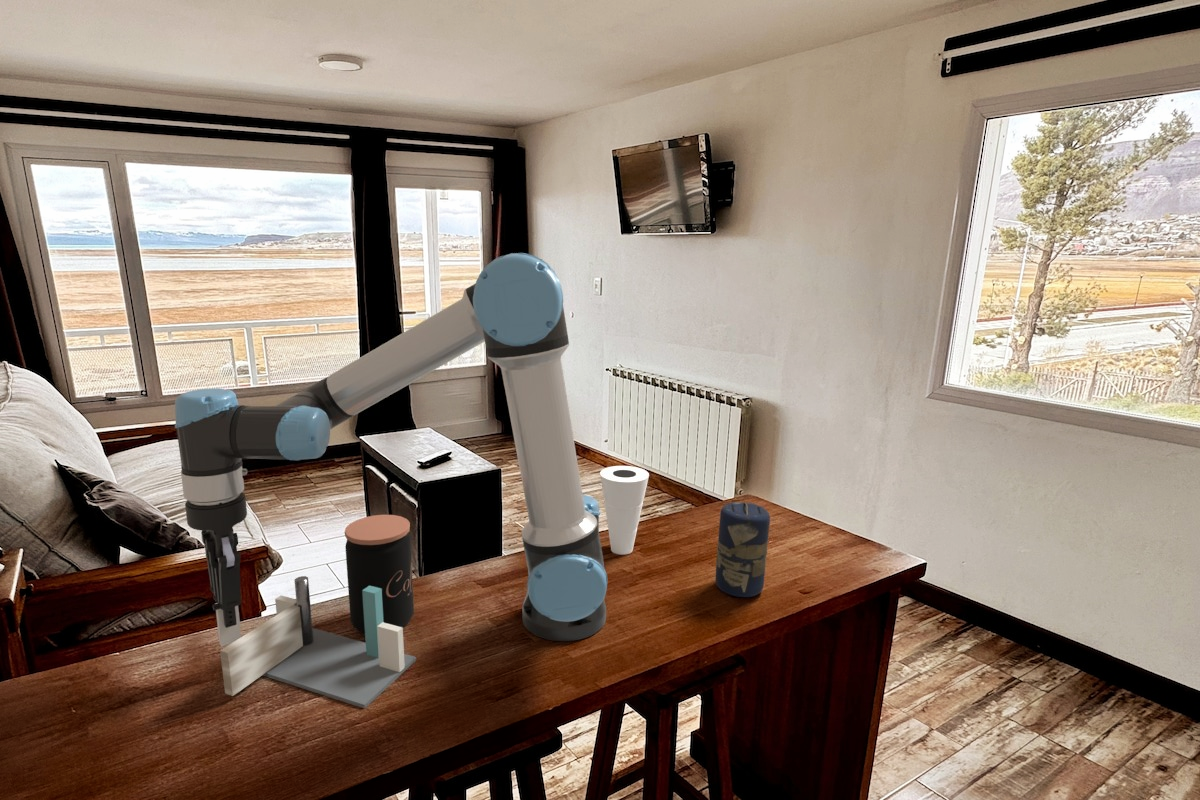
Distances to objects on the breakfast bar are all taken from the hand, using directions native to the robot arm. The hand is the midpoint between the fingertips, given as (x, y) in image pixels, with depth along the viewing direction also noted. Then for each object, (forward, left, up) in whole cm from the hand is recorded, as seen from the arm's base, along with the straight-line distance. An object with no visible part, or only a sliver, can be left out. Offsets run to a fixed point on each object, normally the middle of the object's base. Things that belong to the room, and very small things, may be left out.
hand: (230, 640), depth 97 cm
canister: (-69, -56, -6) cm, 89 cm away
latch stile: (-18, -11, -5) cm, 22 cm away
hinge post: (-5, -9, -5) cm, 12 cm away
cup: (-42, -63, -6) cm, 76 cm away
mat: (-12, -7, -5) cm, 15 cm away
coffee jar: (-12, -20, -6) cm, 24 cm away
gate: (-5, -1, -4) cm, 7 cm away
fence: (-12, -9, -5) cm, 16 cm away
